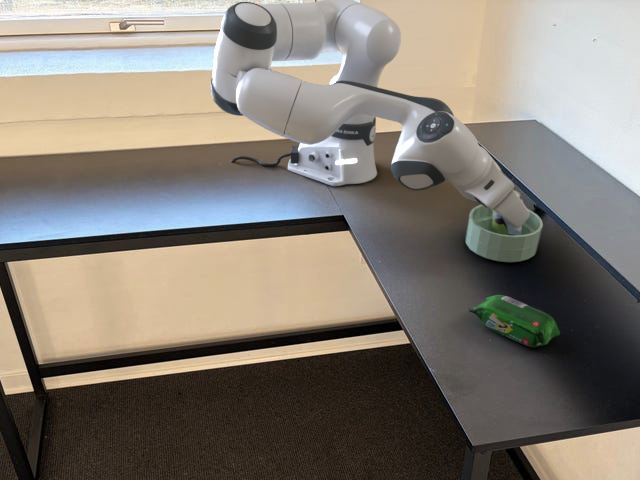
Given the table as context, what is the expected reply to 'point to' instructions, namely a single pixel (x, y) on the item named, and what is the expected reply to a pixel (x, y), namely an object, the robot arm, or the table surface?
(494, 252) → the bowl
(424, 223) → the table surface
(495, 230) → the beverage can
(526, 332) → the snack package
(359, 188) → the table surface
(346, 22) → the robot arm
